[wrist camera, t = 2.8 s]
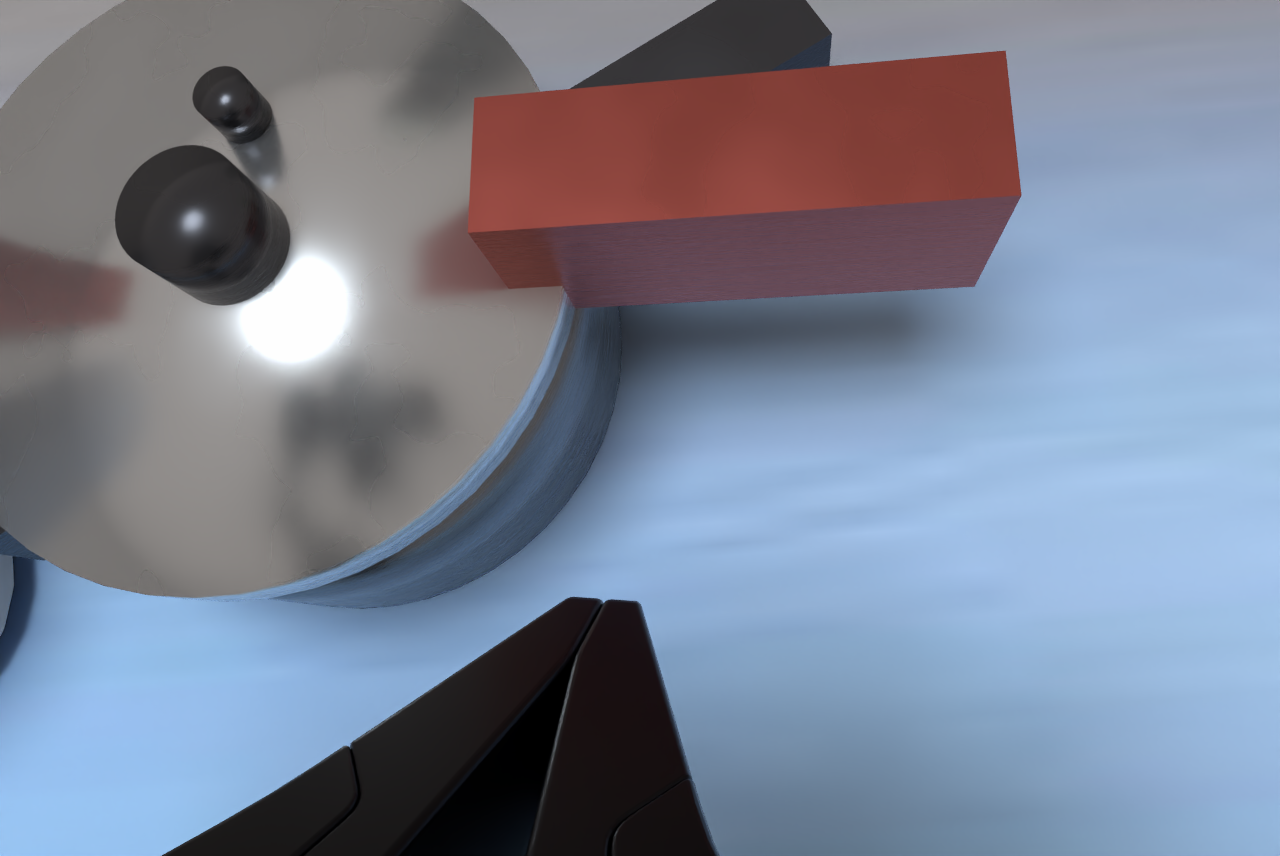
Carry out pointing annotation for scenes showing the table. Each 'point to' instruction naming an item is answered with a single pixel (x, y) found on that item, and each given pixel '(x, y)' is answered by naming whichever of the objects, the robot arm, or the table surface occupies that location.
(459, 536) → the dark grey curved piece
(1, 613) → the can
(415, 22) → the lid
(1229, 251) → the table surface
